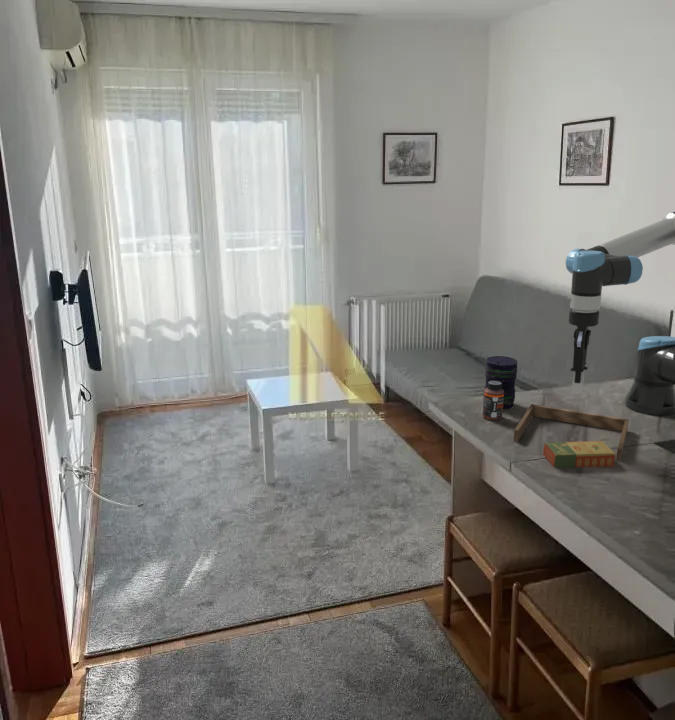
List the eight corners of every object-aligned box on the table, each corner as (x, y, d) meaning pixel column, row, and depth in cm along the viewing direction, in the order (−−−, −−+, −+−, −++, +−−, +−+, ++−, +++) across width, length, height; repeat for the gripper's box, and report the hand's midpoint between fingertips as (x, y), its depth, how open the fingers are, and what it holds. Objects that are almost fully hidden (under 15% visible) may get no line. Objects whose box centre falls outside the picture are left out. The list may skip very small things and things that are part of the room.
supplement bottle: (498, 422, 204) (501, 386, 200) (479, 418, 207) (482, 383, 203) (504, 416, 209) (507, 381, 205) (485, 412, 212) (488, 378, 208)
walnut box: (627, 430, 198) (628, 419, 197) (620, 460, 178) (621, 448, 177) (530, 414, 210) (531, 404, 209) (513, 441, 190) (514, 429, 189)
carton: (614, 468, 175) (616, 452, 174) (553, 469, 174) (555, 454, 173) (600, 454, 183) (602, 439, 182) (542, 455, 182) (543, 441, 181)
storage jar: (491, 397, 225) (495, 354, 221) (519, 403, 219) (523, 359, 215) (477, 405, 218) (480, 361, 213) (505, 412, 212) (509, 367, 207)
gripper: (573, 303, 187) (566, 383, 194) (566, 313, 176) (559, 398, 183) (602, 305, 184) (594, 387, 191) (596, 316, 173) (588, 402, 180)
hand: (576, 392), depth 187 cm, fingers closed
